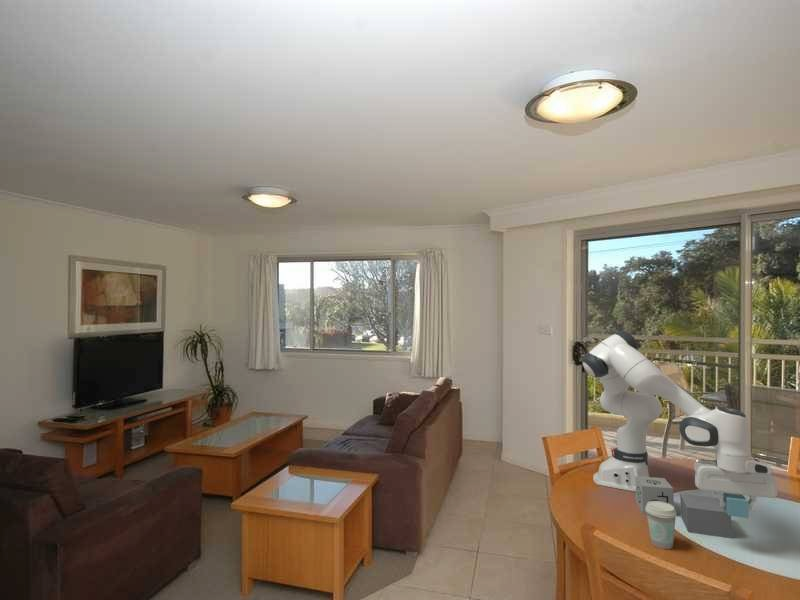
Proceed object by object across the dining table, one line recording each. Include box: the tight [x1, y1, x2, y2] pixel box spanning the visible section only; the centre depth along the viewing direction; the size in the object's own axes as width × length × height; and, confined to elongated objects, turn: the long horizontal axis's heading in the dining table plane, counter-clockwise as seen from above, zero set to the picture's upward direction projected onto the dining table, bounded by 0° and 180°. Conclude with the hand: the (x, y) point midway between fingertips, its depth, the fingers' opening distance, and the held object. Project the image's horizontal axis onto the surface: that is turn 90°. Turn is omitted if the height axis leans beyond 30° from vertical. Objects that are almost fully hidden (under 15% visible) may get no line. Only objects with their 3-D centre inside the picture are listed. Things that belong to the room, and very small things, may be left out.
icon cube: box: [635, 476, 675, 515], centre depth 164 cm, size 10×10×10 cm
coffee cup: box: [645, 501, 678, 550], centre depth 139 cm, size 8×9×12 cm
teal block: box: [722, 493, 750, 519], centre depth 135 cm, size 5×5×5 cm
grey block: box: [679, 493, 733, 539], centre depth 150 cm, size 12×12×8 cm
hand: (735, 507), depth 135 cm, fingers closed on teal block, 5 cm apart
